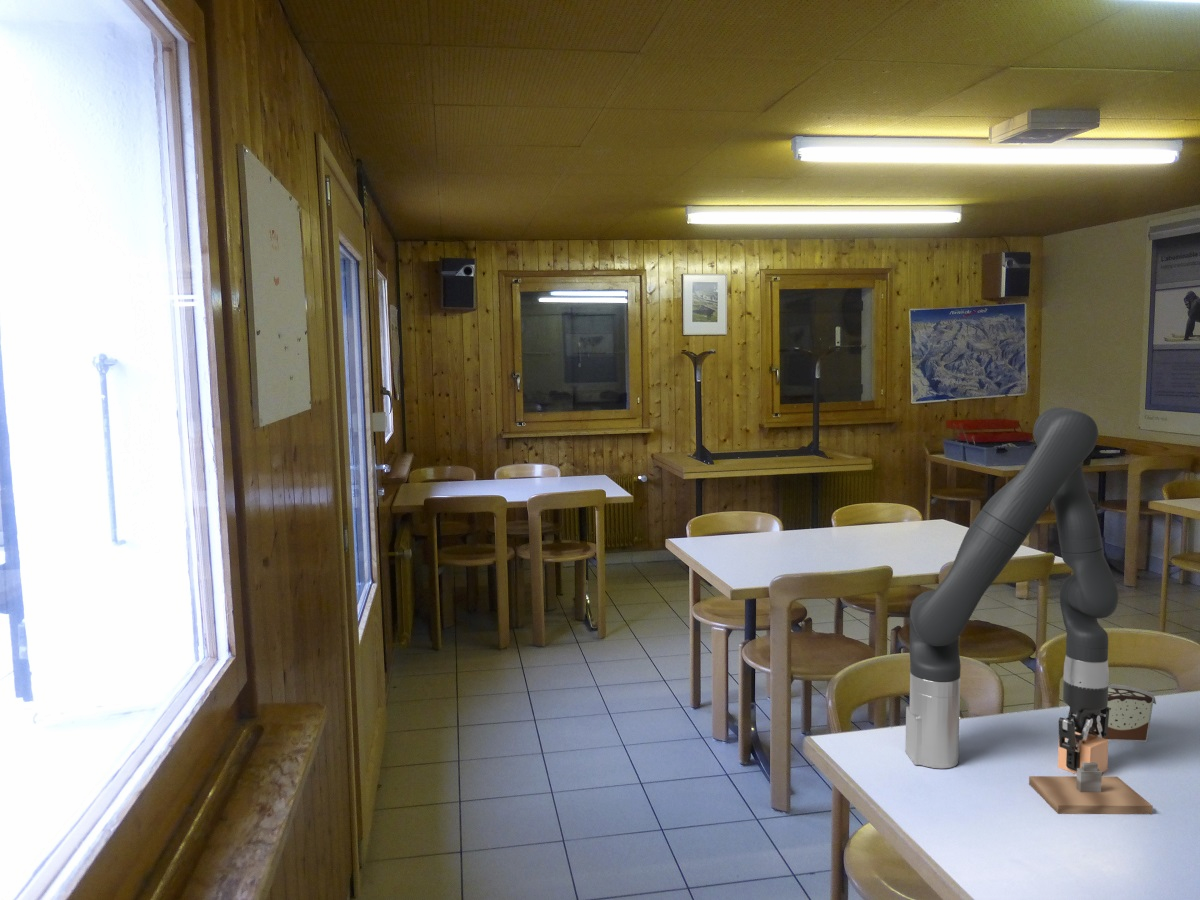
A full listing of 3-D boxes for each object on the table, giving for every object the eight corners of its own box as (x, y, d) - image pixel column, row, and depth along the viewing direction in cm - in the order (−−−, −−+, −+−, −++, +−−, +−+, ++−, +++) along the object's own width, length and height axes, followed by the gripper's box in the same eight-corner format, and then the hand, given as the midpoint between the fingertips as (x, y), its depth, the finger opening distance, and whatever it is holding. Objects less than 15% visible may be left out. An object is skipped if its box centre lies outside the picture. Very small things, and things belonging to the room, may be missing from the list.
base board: (1057, 813, 151) (1059, 777, 151) (1029, 784, 162) (1030, 750, 162) (1152, 814, 151) (1153, 777, 150) (1116, 784, 162) (1118, 750, 161)
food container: (1139, 729, 186) (1141, 684, 185) (1154, 741, 180) (1156, 694, 179) (1078, 728, 187) (1080, 682, 186) (1091, 740, 181) (1093, 693, 180)
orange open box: (1089, 778, 164) (1090, 747, 164) (1057, 767, 169) (1058, 737, 169) (1107, 770, 167) (1108, 739, 167) (1075, 758, 173) (1076, 729, 172)
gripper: (1085, 693, 160) (1082, 781, 161) (1125, 678, 168) (1122, 762, 169) (1045, 682, 166) (1042, 766, 167) (1086, 667, 174) (1083, 748, 175)
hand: (1082, 764), depth 168 cm, fingers closed on orange open box, 6 cm apart
